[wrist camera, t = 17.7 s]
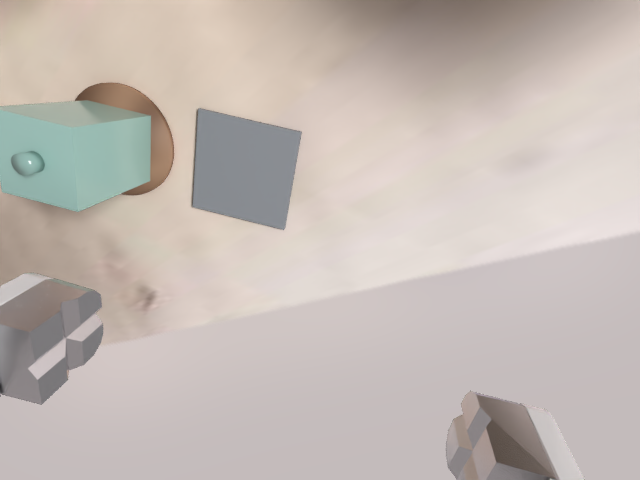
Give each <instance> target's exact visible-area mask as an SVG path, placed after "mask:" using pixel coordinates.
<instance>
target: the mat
mask: <svg viewBox="0 0 640 480" xmlns="http://www.w3.org/2000/svg"><path fill="white" fill-rule="evenodd" d="M301 133H302V132H300V131H296V130H291V129H287V128H283V127H278V126H274V125H270V124H265V123H261V122H257V121H252V120H248V119H244V118H239V117H235V116H231V115H227V114H222V113H218V112H214V111H209V110H205V109H201V108H200V109H198V123H197V141H196V158H195V175H194V193H193V207H195V208H199V209H203V210H207V211H211V212H215V213H219V214H223V215H227V216H231V217H235V218H239V219H243V220H247V221H251V222H255V223H259V224H263V225H267V226H271V227H275V228H279V229H283V230H284V229H285V225H286V220H287V214H288V208H289V202H290V196H291V191H292V185H293V179H294V173H295V167H296V162H297V156H298V150H299V144H300V139H301Z"/></svg>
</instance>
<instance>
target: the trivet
mask: <svg viewBox="0 0 640 480" xmlns="http://www.w3.org/2000/svg"><path fill="white" fill-rule="evenodd" d="M84 100H88V101H93V102H97V103H101V104H105V105H109V106H113V107H117V108H122V109H126V110H130V111H134V112H138V113H142V114H146V115H151V157H150V181H149V182H147V183H144V184H142V185H140V186H137V187H135V188H133V189H130V190H128V191H126V192H123V193H121V194H126V195H139V194H143V193H147V192H149V191H151V190H153V189H155V188H157V187H158V186H159V185H161V184H162V183H163V182H164V181H165V179H166V178H167V176H168V174H169V172H170V170H171V167H172V164H173V159H174V144H173V139H172V134H171V131H170V128H169V126H168V124H167V122H166V120H165V118H164V116H163V115H162V113H161V112H160V110H159V109H158V108H157V106H156V105H155V104H154V103H153V102H152V101H151V100H150V99H149V98H148V97H146V96H145V95H144V94H142V93H141V92H140V91H138V90H136V89H134V88H132V87H129V86H127V85H123V84H119V83H100V84H96V85H93V86H90V87H88V88H87V89H85V90H84V91H83V92H82V93H80V94H79V96H78V97H77V98H76V100H75V101H84Z"/></svg>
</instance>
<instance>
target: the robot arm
mask: <svg viewBox="0 0 640 480" xmlns="http://www.w3.org/2000/svg"><path fill="white" fill-rule="evenodd" d="M101 307H102V303H101V294H99V293H98V292H96V291H95V290H92V289H89V288H85V287H82V286H78V285H75V284H72V283H68V282H65V281H61V280H58V279H55V278H54V279H53V278H50V277H46V276H43V275H39V274H36V273H25V274H22V275H20V276H18V277H17V278H15V279H13V280H11V281H9V282H7V283H5V284H3V285H1V286H0V394H2V395H6V396H10V397H14V398H18V399H21V400H26V401H29V402H33V403H37V404H41V405H42V404H43V403H44V402H45V401H46V400H47V399H48V398H49V397H50V396H51V395H52V394H53V393H55V391H57V390H58V389H59V388H60V387H61V386H62V385H63V384H64V383H65V382H66V381H67V380H68V375H69V370H71V369H74V368H77V367H79V366H82V365H84V364H85V363H86V362H87V361H88V360H89V359H90V358H91V357H92V356H93V355H94V354H95V352H96V350H97V349H98V347H99V345H100V343H101V340H102V336H103V323H102V321H101V320H100V318H99V317H98V315H97V314H96V313H97V312H98V311H99V310H100V309H101ZM0 396H1V395H0ZM461 407H462V411H463V415H461V416H458V417H457V418H455V419H453V421H452V423H451V426H450V428H449V430H448V435H447V441H446V457H447V464H448V468H449V469H450V471H451V472H452V473H453V475H454V476H455V478H456V479H457V480H585V479H584V478H583V476H582V474H581V472H580V470H579V468H578V466H577V464H576V462H575V460H574V458H573V456H572V454H571V452H570V450H569V448H568V446H567V444H566V442H565V440H564V438H563V436H562V434H561V432H560V430H559V429H558V426H557V424H556V422H555V420H554V418H553V417H552V415H551V414H550V413H549V412H548V411H547V410H545V409H541V408H537V407H533V406H529V405H525V404H521V403H520V404H518V403H515V402H511V401H507V400H503V399H500V398H496V397H492V396H488V395H484V394H481V393H477V392H473V391H470V392H469V393H467V394H466V395H465V397H464V399H463V401H462V403H461Z"/></svg>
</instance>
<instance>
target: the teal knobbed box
mask: <svg viewBox="0 0 640 480" xmlns="http://www.w3.org/2000/svg"><path fill="white" fill-rule="evenodd" d="M150 157H151V115H146V114H142V113H138V112H134V111H130V110H126V109H122V108H117V107H113V106H109V105H105V104H101V103H97V102H93V101H88V100H84V101H69V102H54V103H39V104H24V105H10V106H0V182H1V188H2V192H4V193H8V194H12V195H16V196H19V197H23V198H27V199H31V200H35V201H38V202H42V203H46V204H50V205H54V206H58V207H61V208H65V209H69V210H73V211H77V212H79V211H81V210H84V209H86V208H88V207H91V206H93V205H95V204H98V203H100V202H102V201H105V200H107V199H109V198H112V197H114V196H116V195H119V194H121V193H123V192H126V191H128V190H130V189H133V188H135V187H137V186H140V185H142V184H144V183H147V182H149V181H150Z"/></svg>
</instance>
